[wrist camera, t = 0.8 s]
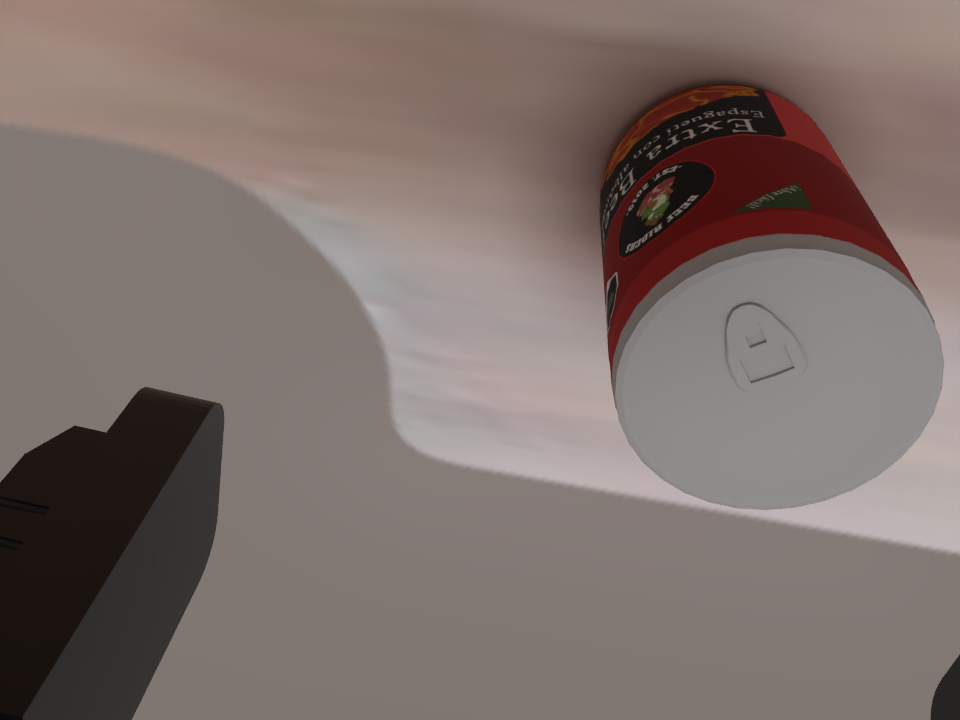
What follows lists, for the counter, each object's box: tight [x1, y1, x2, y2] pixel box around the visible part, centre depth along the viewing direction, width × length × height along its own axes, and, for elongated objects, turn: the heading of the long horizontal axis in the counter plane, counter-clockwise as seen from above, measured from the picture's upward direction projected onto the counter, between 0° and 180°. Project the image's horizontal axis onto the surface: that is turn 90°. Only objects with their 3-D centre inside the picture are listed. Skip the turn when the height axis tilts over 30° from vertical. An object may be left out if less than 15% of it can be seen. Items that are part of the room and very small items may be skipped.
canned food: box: [600, 85, 944, 510], centre depth 26 cm, size 8×8×11 cm
